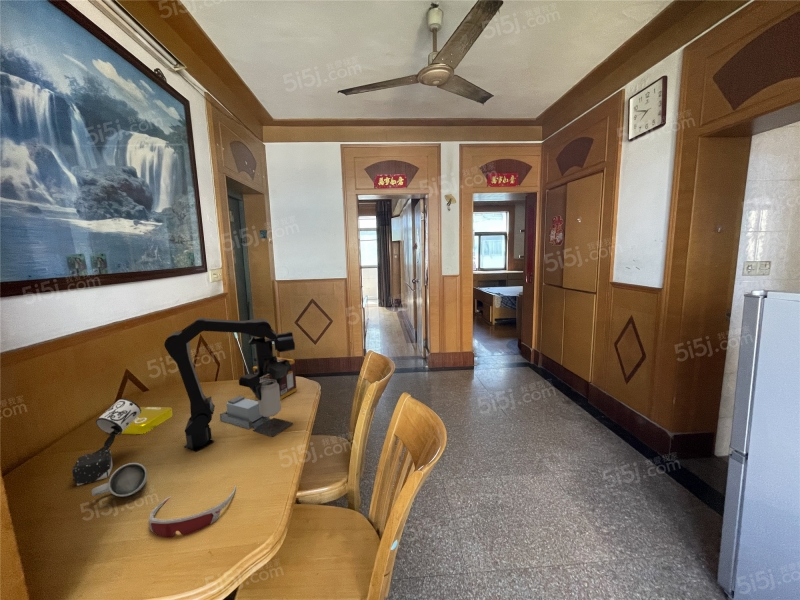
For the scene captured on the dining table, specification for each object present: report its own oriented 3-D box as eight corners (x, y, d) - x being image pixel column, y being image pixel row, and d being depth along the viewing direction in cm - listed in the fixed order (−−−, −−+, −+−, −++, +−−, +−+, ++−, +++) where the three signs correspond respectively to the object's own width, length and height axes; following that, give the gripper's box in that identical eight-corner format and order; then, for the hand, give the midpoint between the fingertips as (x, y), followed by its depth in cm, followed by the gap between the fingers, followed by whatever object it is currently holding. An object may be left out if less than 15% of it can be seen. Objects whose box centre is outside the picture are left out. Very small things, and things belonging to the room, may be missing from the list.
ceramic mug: (141, 496, 90) (152, 465, 94) (139, 496, 84) (151, 463, 88) (92, 496, 85) (105, 463, 89) (86, 496, 79) (101, 461, 83)
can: (276, 418, 115) (273, 385, 114) (255, 418, 116) (252, 386, 114) (284, 408, 123) (281, 377, 121) (265, 408, 123) (262, 378, 121)
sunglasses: (132, 550, 71) (131, 527, 71) (171, 505, 87) (170, 486, 88) (219, 536, 74) (218, 513, 74) (240, 495, 91) (239, 477, 91)
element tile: (175, 416, 133) (174, 405, 132) (143, 437, 118) (141, 425, 117) (141, 416, 134) (140, 405, 134) (105, 436, 119) (103, 424, 119)
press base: (272, 437, 115) (272, 429, 114) (219, 422, 127) (219, 414, 126) (293, 424, 124) (292, 416, 123) (242, 410, 136) (241, 403, 135)
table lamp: (111, 400, 106) (103, 393, 99) (146, 404, 110) (142, 399, 102) (67, 489, 94) (54, 490, 86) (109, 491, 97) (100, 492, 89)
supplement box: (255, 400, 145) (252, 367, 143) (280, 387, 159) (277, 356, 157) (272, 404, 141) (269, 369, 139) (297, 390, 155) (294, 359, 153)
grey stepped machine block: (249, 423, 123) (247, 406, 122) (227, 417, 128) (226, 401, 127) (262, 416, 128) (260, 400, 127) (240, 411, 133) (239, 395, 132)
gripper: (258, 365, 104) (263, 411, 106) (300, 349, 121) (303, 389, 123) (235, 361, 109) (240, 405, 111) (278, 346, 126) (282, 384, 128)
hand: (268, 395), depth 118 cm, fingers closed on can, 7 cm apart
